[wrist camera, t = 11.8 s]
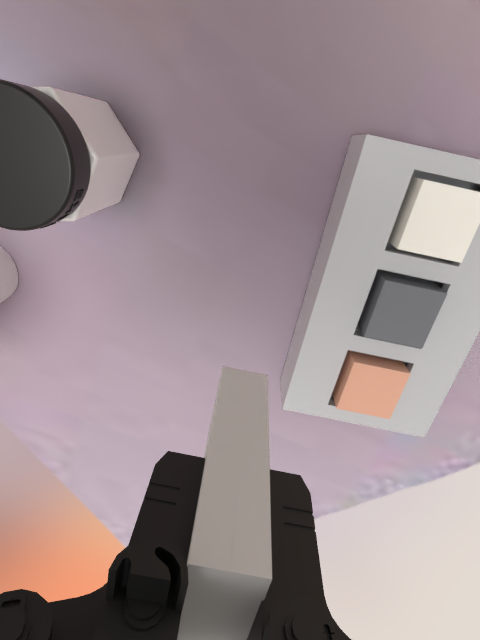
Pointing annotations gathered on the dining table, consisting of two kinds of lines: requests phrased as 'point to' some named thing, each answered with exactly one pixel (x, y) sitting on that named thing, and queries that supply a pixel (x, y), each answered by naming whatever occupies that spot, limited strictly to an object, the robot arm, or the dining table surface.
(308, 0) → the dining table surface
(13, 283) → the grey stepped double column
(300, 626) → the robot arm
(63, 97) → the jar
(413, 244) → the ivory key
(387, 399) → the terracotta key
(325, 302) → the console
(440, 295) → the charcoal key
